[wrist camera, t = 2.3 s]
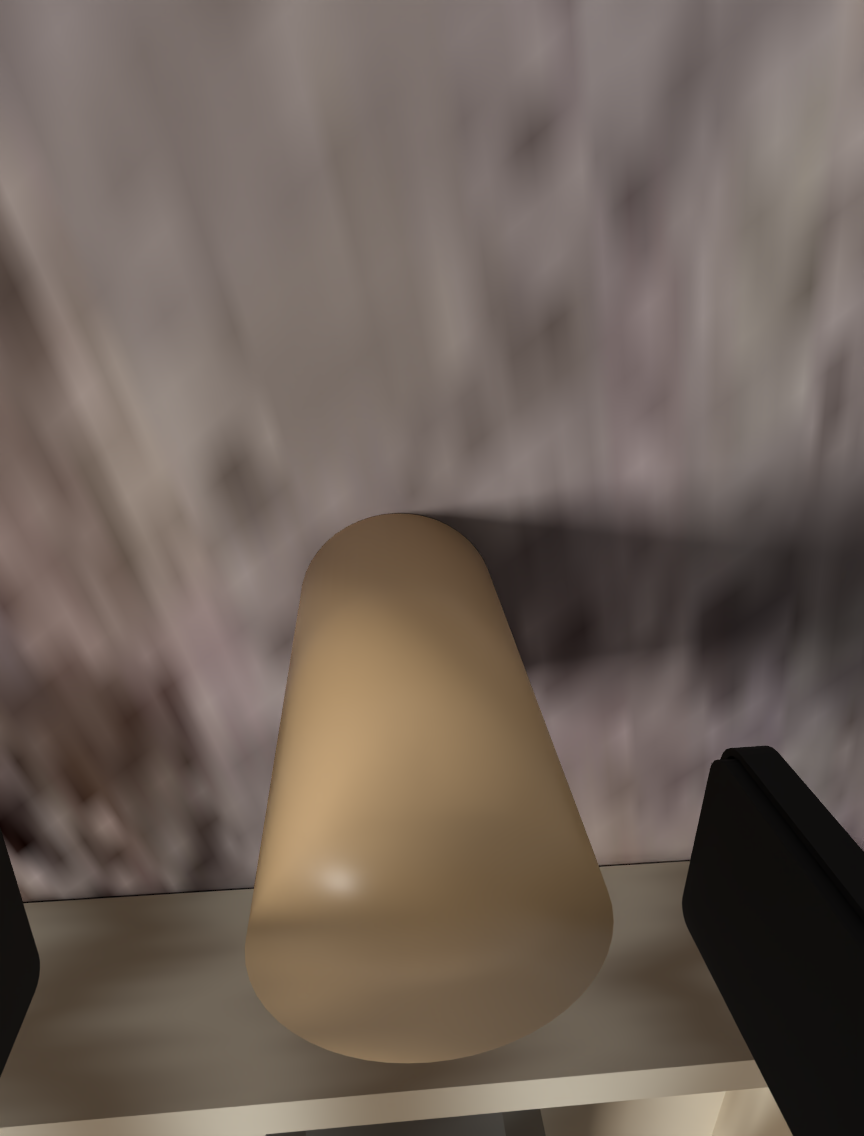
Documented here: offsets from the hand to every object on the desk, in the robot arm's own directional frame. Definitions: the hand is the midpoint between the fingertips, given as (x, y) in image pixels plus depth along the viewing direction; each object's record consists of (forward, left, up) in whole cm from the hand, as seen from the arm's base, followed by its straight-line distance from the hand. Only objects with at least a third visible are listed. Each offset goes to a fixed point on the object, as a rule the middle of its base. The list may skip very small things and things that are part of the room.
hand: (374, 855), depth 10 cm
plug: (-1, -1, -6) cm, 6 cm away
